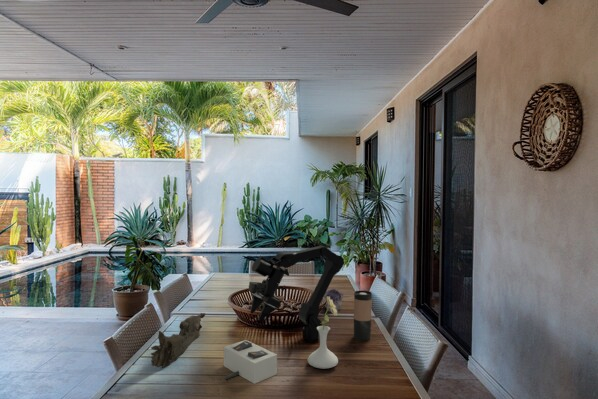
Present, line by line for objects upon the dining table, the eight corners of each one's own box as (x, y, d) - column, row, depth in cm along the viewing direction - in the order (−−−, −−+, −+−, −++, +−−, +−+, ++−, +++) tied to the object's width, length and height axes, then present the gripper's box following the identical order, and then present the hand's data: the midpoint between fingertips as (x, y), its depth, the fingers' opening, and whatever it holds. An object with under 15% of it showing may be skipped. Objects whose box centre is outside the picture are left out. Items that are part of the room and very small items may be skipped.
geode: (345, 313, 208) (343, 295, 207) (324, 315, 208) (321, 297, 208) (343, 301, 228) (341, 284, 227) (323, 303, 229) (321, 286, 228)
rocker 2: (260, 353, 142) (261, 350, 142) (267, 357, 139) (267, 353, 139) (247, 355, 137) (248, 351, 138) (254, 358, 135) (254, 355, 135)
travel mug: (372, 336, 176) (373, 291, 175) (368, 342, 169) (369, 295, 168) (356, 333, 179) (357, 289, 178) (351, 339, 172) (352, 293, 172)
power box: (245, 357, 152) (245, 339, 151) (276, 374, 139) (277, 354, 139) (211, 370, 141) (211, 350, 141) (242, 389, 128) (242, 367, 128)
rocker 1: (246, 343, 148) (245, 340, 148) (251, 345, 146) (251, 343, 145) (233, 350, 144) (232, 347, 144) (238, 353, 142) (238, 350, 141)
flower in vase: (329, 374, 139) (330, 304, 138) (301, 366, 145) (302, 299, 144) (345, 361, 150) (346, 296, 149) (319, 354, 156) (320, 291, 155)
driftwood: (148, 375, 132) (148, 331, 134) (197, 341, 184) (197, 309, 186) (163, 375, 132) (163, 331, 134) (208, 340, 184) (208, 309, 186)
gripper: (248, 268, 166) (231, 303, 163) (266, 278, 150) (246, 316, 147) (270, 279, 171) (253, 312, 168) (289, 289, 155) (270, 326, 152)
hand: (255, 316), depth 159 cm, fingers open, 9 cm apart
